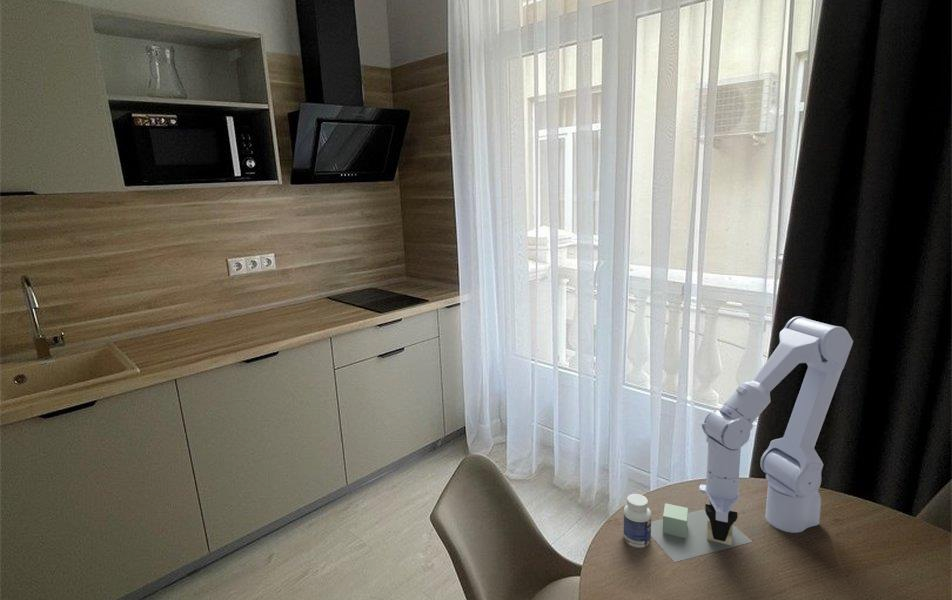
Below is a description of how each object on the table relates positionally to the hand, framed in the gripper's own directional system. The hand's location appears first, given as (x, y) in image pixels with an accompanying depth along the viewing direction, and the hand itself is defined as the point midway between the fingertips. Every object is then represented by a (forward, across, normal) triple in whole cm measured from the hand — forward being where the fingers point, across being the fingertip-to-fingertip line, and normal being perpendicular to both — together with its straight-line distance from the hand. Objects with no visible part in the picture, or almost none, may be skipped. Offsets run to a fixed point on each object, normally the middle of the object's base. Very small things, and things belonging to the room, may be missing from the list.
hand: (719, 531), depth 99 cm
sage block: (+1, +1, -8) cm, 8 cm away
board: (+2, +1, -4) cm, 5 cm away
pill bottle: (+2, +7, -15) cm, 17 cm away
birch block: (+1, 0, 0) cm, 1 cm away
